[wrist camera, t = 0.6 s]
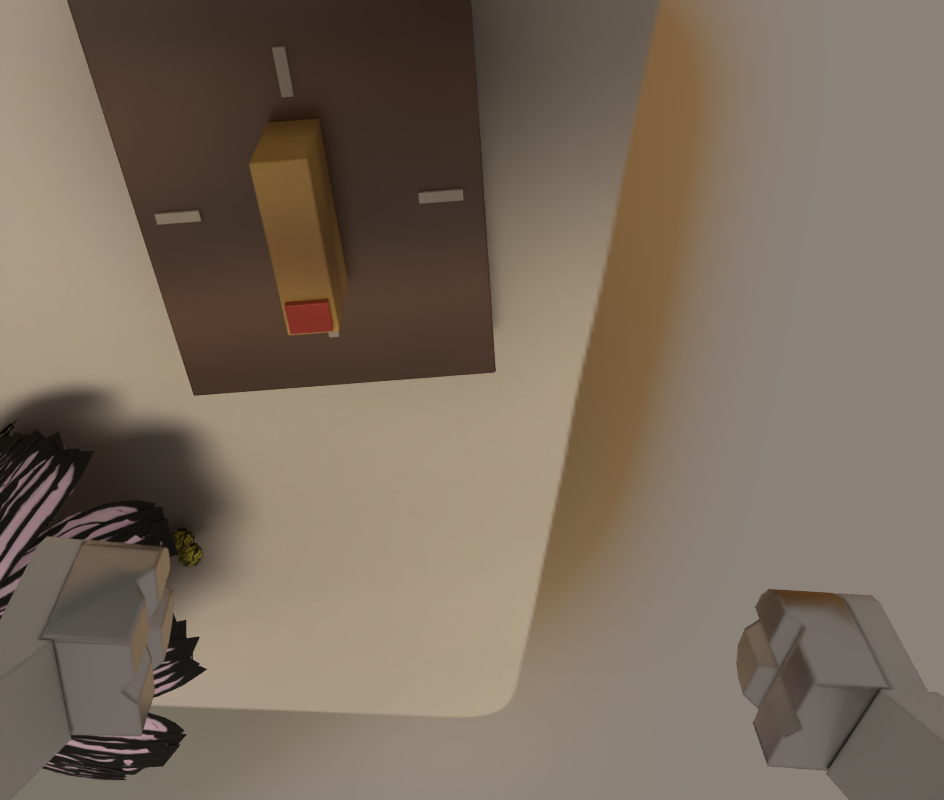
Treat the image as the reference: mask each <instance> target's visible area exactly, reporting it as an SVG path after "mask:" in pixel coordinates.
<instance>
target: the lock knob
mask: <svg viewBox="0 0 944 800" xmlns="http://www.w3.org/2000/svg"><path fill="white" fill-rule="evenodd" d="M249 167H250V172H251V176H252V180H253V185H254V189H255V193H256V198H257V202H258V206H259V211H260V215H261V219H262V224H263V228H264V232H265V237H266V241H267V245H268V250H269V254H270V259H271V263H272V267H273V272H274V276H275V280H276V285H277V289H278V293H279V298H280V302H281V306H282V311H283V315H284V319H285V324H286V328H287V332H288V335H300V334H313V333H326V332H338V331H339V330H340V325H341V319H342V313H343V306H344V300H345V294H346V287H347V281H348V279H347V273H346V267H345V262H344V256H343V250H342V244H341V239H340V233H339V227H338V222H337V216H336V210H335V204H334V199H333V193H332V187H331V181H330V176H329V170H328V164H327V159H326V153H325V147H324V141H323V136H322V130H321V124H320V120H319V119H306V120H294V121H282V122H269V123H267V124H266V126H265V128H264V130H263V133H262V135H261V137H260V140H259V142H258V144H257V147H256V149H255V151H254V154H253V156H252V158H251V161H250V163H249Z"/></svg>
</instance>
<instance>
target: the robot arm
mask: <svg viewBox="0 0 944 800" xmlns="http://www.w3.org/2000/svg"><path fill="white" fill-rule="evenodd" d="M170 568H171V566H170V557H169V549H167V548H166V547H160V546H150V545H139V544H129V543H118V542H108V541H97V540H79V539H69V538H58V537H48V536H47V537H46V538H45V539H44V540H43V541H42V542H41V543H40V544H39V545H38V546H37V547H36V549H35V551H34V553H33V555H32V557H31V559H30V561H29V563H28V565H27V567H26V569H25V571H24V573H23V575H22V577H21V579H20V581H19V583H18V585H17V587H16V589H15V591H14V593H13V595H12V597H11V599H10V601H9V603H8V605H7V607H6V609H5V611H4V613H3V615H2V617H1V619H0V800H10V799H12V798H13V796H14V795H16V794H17V793H18V792H19V790H21V789H22V788H23V787H24V786H25V784H27V782H29V781H30V780H31V779H32V778H33V777H34V776H35V775H36V774H37V772H39V771H40V770H41V769H42V768H43V767H44V766H45V765H46V764H47V763H48V762H49V761H50V760H51V759H52V758H53V757H54V756H55V755H56V754H57V753H58V752H59V751H60V750H61V749H62V748H63V747H64V746H65V745H66V744H67V743H68V742H69V741H70V740H71V735H99V736H142V732H143V729H144V726H145V723H146V719H147V716H148V713H149V709H150V706H151V703H152V699H153V696H154V693H155V687H154V675H153V670H154V669H156V668H157V667H158V666H159V665H160V664H162V663H163V662H164V658H165V655H166V651H167V648H168V644H169V639H170V633H171V627H172V621H173V591H172V590H171V589H170V588H169V587H168V586H167V585H166V581H167V577H168V574H169V571H170ZM755 608H756V610H757V614H758V616H759V620H757V621H756V622H754V623H753V624H751V625H750V626H748V627H747V628H745V630H744V632H743V634H742V637H741V639H740V641H739V644H738V651H737V663H736V664H737V672H738V679H739V682H740V685H741V688H742V691H743V694H744V696H745V697H746V698H747V699H748V700H749V701H750V702H752V703H753V704H754V705H755V706H756V707H757V708H758V709H759V711H758V713H757V715H756V718H755V720H754V722H753V724H754V727H755V730H756V733H757V736H758V739H759V742H760V745H761V748H762V750H763V754H764V756H765V760H766V763H767V765H768V766H772V767H786V768H799V769H811V770H826V771H827V773H826V774H827V775H828V776H829V778H831V780H832V781H833V782H834V783H835V784H836V785H837V787H838V788H839V789H840V790H841V791H842V792H843V794H844V795H845V796H846V797H847V798H848V799H849V800H944V697H943V696H942V695H941V694H939V693H936V692H928V691H927V689H926V687H925V685H924V683H923V681H922V680H921V678H920V676H919V674H918V672H917V670H916V668H915V667H914V665H913V663H912V661H911V659H910V657H909V655H908V654H907V652H906V650H905V648H904V646H903V644H902V643H901V641H900V639H899V637H898V635H897V633H896V631H895V630H894V628H893V626H892V624H891V622H890V621H889V619H888V617H887V615H886V613H885V611H884V610H883V607H882V606H881V604H880V602H879V601H878V600H876V599H875V598H874V597H873V596H870V595H854V594H833V593H825V592H807V591H790V590H774V589H768V590H767V591H766V592H765V593H763V594H762V595H761V597H760V599H759V601H758V603H757V605H756V607H755Z"/></svg>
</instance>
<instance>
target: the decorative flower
mask: <svg viewBox="0 0 944 800" xmlns="http://www.w3.org/2000/svg"><path fill="white" fill-rule="evenodd" d="M17 420H18V419H17ZM17 420H16V421H17ZM16 421H15V422H16ZM15 422H13V423H12V424H9V425H8V426H7V427H6V428H5V429H4V430H3V431H1V432H0V619H1V617H2V615H3V613H4V611H5V609H6V607H7V605H8V603H9V601H10V599H11V597H12V595H13V593H14V591H15V589H16V587H17V585H18V583H19V581H20V579H21V577H22V575H23V573H24V571H25V569H26V567H27V565H28V563H29V561H30V559H31V557H32V555H33V553H34V551H35V549H36V547H37V546H38V545H39V544H40V543H41V542H42V541H43V540H44V539H45V538H46V537H47V536H48V537H58V538H69V539H79V540H97V541H108V542H118V543H129V544H139V545H150V546H160V547H166V548H167V549H169V557H172V556H175V555H178V557H179V562H180V563H182V564H183V565H185V566H188V567H192V566H196V565H197V564H198V563H199V562H200V561H201V559H202V557H203V554H202V553H203V552H202V549H201V548H200V546H198V545H197V544H196V543H193V542H194V538H195V537H194V536H193V534H192V533H191V532H190V531H188V530H187V529H179V530H176V531H175V532H174V533H173V534H172V533H171V530H170V527H169V524H168V521H167V518H165V519H164V513H163V507H156V508H155V505H156V503H150V502H145V501H139V500H137V501H119V502H113V503H108V504H103V505H101V506H98V507H95V508H92V509H90V510H86V511H81V512H79V513H76V514H73V515H70V516H67V517H65V518H63V519H62V520H60V521H58V522H56V523H54V524H52V525H51V526H49V527H47V528H45V526H46V525H47V524H48V523H49V522H50V521H51V519H52V518H53V517H54V516H55V514H56V513H57V511H58V510H59V508H60V507H61V506H62V504H63V503H64V502H65V501H66V500H67V499H68V498H69V496H70V495H71V493H72V492H73V490H74V489H75V487H76V485H77V482H78V481H79V479H80V478H81V476H82V474H83V472H84V470H85V468H86V466H87V464H88V462H89V461H90V459H91V457H92V455H93V453H94V451H79V450H80V449H68V448H67V447H66V446H65V445H63V443H62V440H61V437H60V433H59V431H58V432H56V433H54V434H53V435H51V436H49V437H47V438H46V437H44V436H43V435H42V434H41V433H40V432H39V431H38V430H36V431H35V432H33V433H32V434H31V435H29V436H28V435H23V434H18V433H13V435H12V436H11V435H10V434H9V433H10V431H11V430H12V429H14V426H13V424H14V423H15ZM8 434H9V435H8ZM44 528H45V529H44ZM198 640H199V637H193V638H187V637H186V620H183V621H179V622H177V621H176V619H175V616H174V614H173V621H172V627H171V633H170V639H169V644H168V648H167V651H166V655H165V658H164V662H163V663H162V664H160V665H159V666H158V667H157V668H156V669H154V670H153V675H154V687H155V693H154V696H153V698H154V697H158V696H160V695H162V694H164V693H167V692H169V691H172V690H174V689H176V688H178V687H180V686H182V685H184V684H186V683H187V682H189V681H190V680H192V679H193V678H195V677H196V676H198V675H199V674H201V673H202V672H204V671H205V670H207V669H205V668H203V667H201V666H198V665H199V663H198V662H196V661H194V660H193V651H194V649H195V647H196V644H197V642H198ZM183 731H184V730H183V729H182V728H181V727H180V726H178V725H177V724H176V723H174V722H172V721H170V720H168V719H166V718H164V717H161V716H158V715H154V714H151V713H148V716H147V719H146V723H145V726H144V729H143V732H142V736H99V735H71V740H70V741H69V742H68V743H67V744H66V745H65V746H64V747H63V748H62V749H61V750H60V751H59V752H58V753H57V754H56V755H55V756H54V757H53V758H52V759H51V760H50V761H49V762H48V763H47V764H46V765H45V766H44V767H43V769H47V770H51V771H54V772H57V773H62V774H66V775H70V776H78V777H86V778H92V779H101V780H125V779H124V777H126V776H125V775H126V774H131V775H132V774H133V775H135V774H136V773H138V772H139V771H141V770H142V769H144V768H147V767H160V766H164V765H165V763H166V762H167V761H168V760H169V758H170V757H171V756H172V755H173V753H174V752H175V751H176V750H177V748H178V747H179V746H180V745H178V744H179V742H180V741H181V740H182V739H183V738H184V737H185V736H186V734H181V733H182V732H183Z"/></svg>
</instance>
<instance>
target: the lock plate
mask: <svg viewBox="0 0 944 800" xmlns="http://www.w3.org/2000/svg"><path fill="white" fill-rule="evenodd" d="M67 1H68V4H69V8H70V11H71V14H72V17H73V20H74V23H75V26H76V29H77V33H78V36H79V39H80V42H81V45H82V48H83V51H84V54H85V57H86V61H87V64H88V67H89V70H90V73H91V76H92V79H93V82H94V85H95V89H96V92H97V95H98V98H99V101H100V104H101V107H102V110H103V114H104V117H105V120H106V123H107V126H108V129H109V132H110V135H111V138H112V142H113V145H114V148H115V151H116V154H117V157H118V160H119V163H120V167H121V170H122V173H123V176H124V179H125V182H126V185H127V188H128V191H129V195H130V198H131V201H132V204H133V207H134V210H135V213H136V216H137V219H138V223H139V226H140V229H141V232H142V235H143V238H144V241H145V244H146V248H147V251H148V254H149V257H150V260H151V263H152V266H153V269H154V272H155V276H156V279H157V282H158V285H159V288H160V291H161V294H162V297H163V300H164V304H165V307H166V310H167V313H168V316H169V319H170V322H171V325H172V329H173V332H174V335H175V338H176V341H177V344H178V347H179V350H180V353H181V357H182V360H183V363H184V366H185V369H186V372H187V375H188V378H189V381H190V385H191V388H192V391H193V394H194V395H208V394H221V393H234V392H247V391H260V390H273V389H286V388H299V387H312V386H325V385H338V384H351V383H364V382H377V381H390V380H403V379H416V378H429V377H442V376H455V375H468V374H481V373H494V372H495V371H496V368H495V353H494V338H493V323H492V308H491V293H490V277H489V262H488V247H487V232H486V217H485V202H484V187H483V172H482V156H481V141H480V126H479V111H478V96H477V81H476V66H475V51H474V36H473V20H472V5H471V0H67ZM306 119H319V120H320V124H321V130H322V136H323V141H324V147H325V153H326V159H327V164H328V170H329V176H330V181H331V187H332V193H333V199H334V204H335V210H336V216H337V222H338V227H339V233H340V239H341V244H342V250H343V256H344V262H345V267H346V273H347V279H348V281H347V287H346V294H345V300H344V306H343V313H342V319H341V325H340V330H339V331H338V332H326V333H313V334H300V335H288V332H287V328H286V324H285V319H284V315H283V311H282V306H281V302H280V298H279V293H278V289H277V285H276V280H275V276H274V272H273V267H272V263H271V259H270V254H269V250H268V245H267V241H266V237H265V232H264V228H263V224H262V219H261V215H260V211H259V206H258V202H257V198H256V193H255V189H254V185H253V180H252V176H251V172H250V167H249V163H250V161H251V158H252V156H253V154H254V151H255V149H256V147H257V144H258V142H259V140H260V137H261V135H262V133H263V130H264V128H265V126H266V124H267V123H269V122H282V121H294V120H306Z"/></svg>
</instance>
